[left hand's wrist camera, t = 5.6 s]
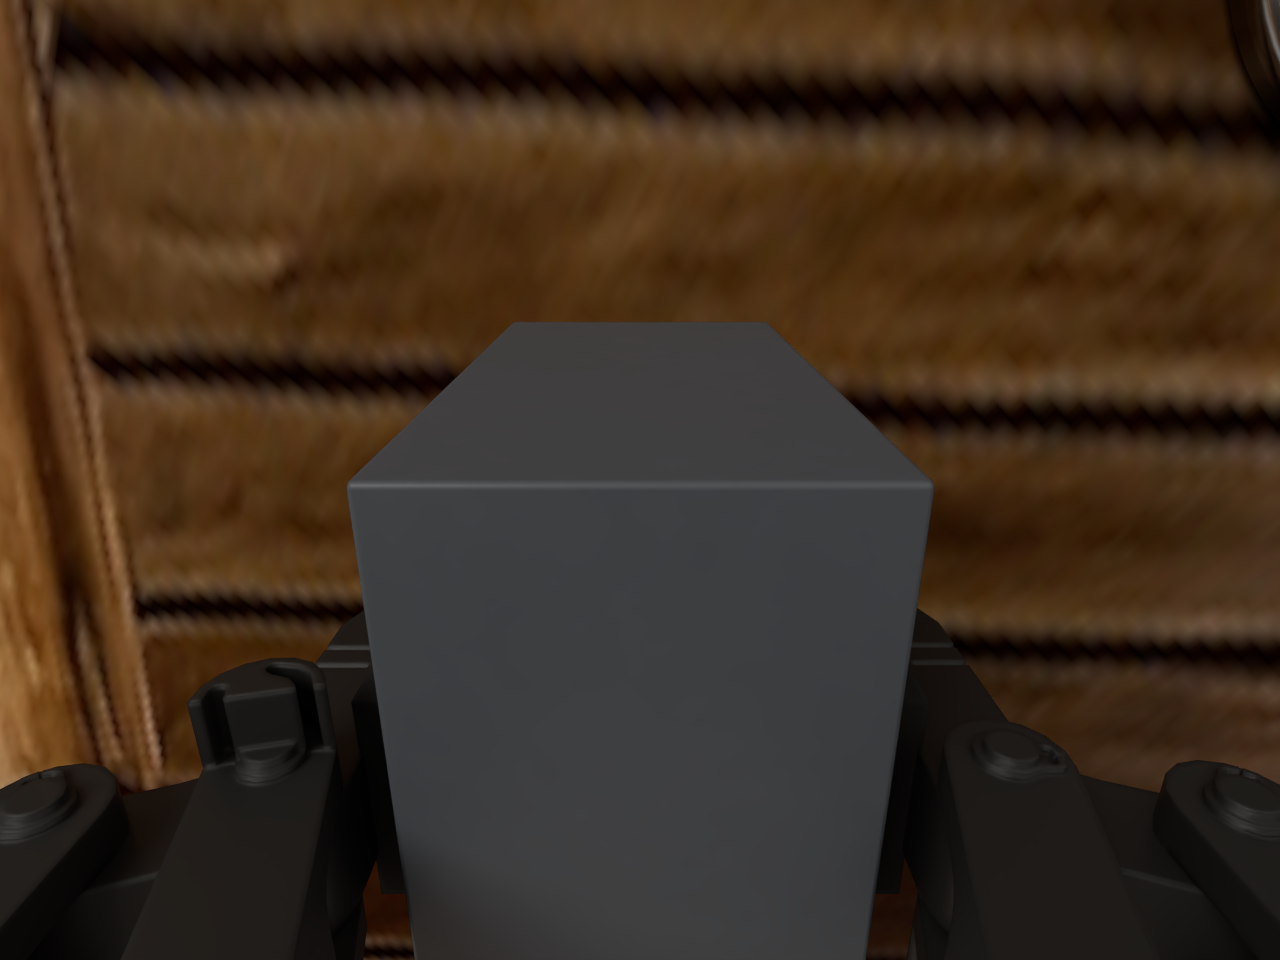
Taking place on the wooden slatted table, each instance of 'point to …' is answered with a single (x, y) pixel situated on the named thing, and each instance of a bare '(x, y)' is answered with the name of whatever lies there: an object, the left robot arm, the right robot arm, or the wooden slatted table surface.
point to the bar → (640, 647)
